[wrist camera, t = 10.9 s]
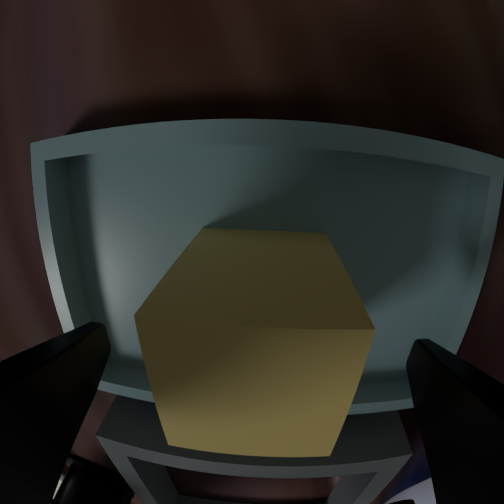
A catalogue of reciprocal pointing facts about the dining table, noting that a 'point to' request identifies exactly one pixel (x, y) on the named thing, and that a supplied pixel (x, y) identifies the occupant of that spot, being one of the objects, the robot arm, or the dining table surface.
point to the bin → (337, 464)
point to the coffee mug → (404, 502)
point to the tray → (269, 225)
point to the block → (254, 344)
